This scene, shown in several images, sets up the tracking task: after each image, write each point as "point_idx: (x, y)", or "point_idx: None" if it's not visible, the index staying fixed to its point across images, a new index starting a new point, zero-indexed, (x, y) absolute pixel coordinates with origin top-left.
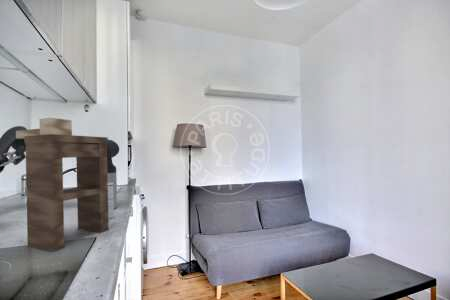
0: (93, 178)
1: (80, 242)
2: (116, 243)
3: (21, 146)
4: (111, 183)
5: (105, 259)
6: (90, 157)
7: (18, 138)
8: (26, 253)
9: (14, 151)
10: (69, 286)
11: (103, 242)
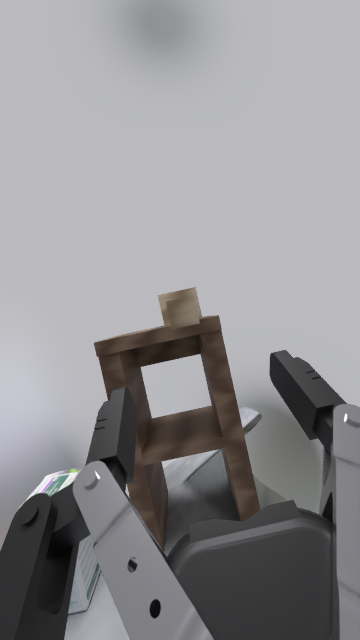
0: (145, 408)
1: (207, 480)
2: None
3: (128, 389)
4: (51, 475)
5: None
6: (135, 372)
7: (194, 324)
8: (270, 500)
9: (112, 474)
10: (254, 418)
11: (194, 459)
